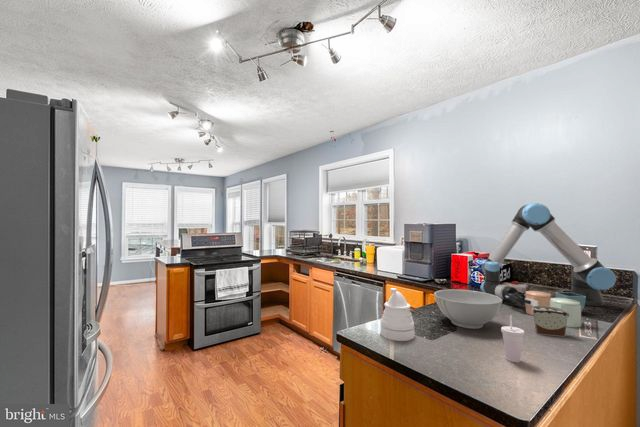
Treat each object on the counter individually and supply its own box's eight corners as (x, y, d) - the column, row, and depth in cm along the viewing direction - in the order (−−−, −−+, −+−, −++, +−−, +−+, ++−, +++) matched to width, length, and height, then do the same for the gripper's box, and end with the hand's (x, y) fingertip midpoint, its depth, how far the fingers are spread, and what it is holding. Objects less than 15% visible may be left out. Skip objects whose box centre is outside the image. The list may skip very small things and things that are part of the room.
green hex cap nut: (562, 318, 139) (561, 297, 139) (586, 326, 129) (585, 302, 130) (545, 320, 136) (545, 298, 137) (568, 328, 127) (568, 304, 127)
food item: (501, 296, 181) (500, 280, 181) (504, 294, 187) (503, 278, 187) (528, 301, 172) (528, 283, 172) (530, 298, 177) (530, 281, 178)
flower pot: (573, 310, 153) (573, 292, 154) (587, 315, 145) (586, 296, 145) (555, 309, 154) (554, 291, 155) (567, 314, 146) (567, 296, 146)
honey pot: (395, 343, 110) (395, 293, 110) (374, 331, 121) (374, 286, 122) (421, 337, 116) (421, 290, 116) (398, 326, 127) (398, 284, 128)
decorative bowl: (424, 324, 131) (423, 296, 131) (447, 311, 150) (446, 286, 151) (493, 340, 112) (493, 308, 113) (509, 323, 132) (508, 295, 132)
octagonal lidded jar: (536, 310, 153) (536, 290, 153) (556, 316, 143) (556, 294, 144) (521, 311, 150) (520, 291, 151) (540, 317, 141) (540, 296, 141)
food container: (563, 332, 122) (562, 307, 122) (569, 337, 116) (569, 311, 117) (527, 328, 126) (527, 304, 126) (532, 333, 120) (532, 308, 121)
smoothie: (496, 355, 100) (496, 313, 100) (515, 355, 100) (514, 312, 101) (510, 364, 93) (510, 319, 94) (530, 364, 94) (529, 318, 94)
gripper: (523, 298, 167) (565, 309, 146) (489, 301, 161) (528, 313, 140) (523, 285, 167) (564, 294, 146) (489, 287, 162) (527, 297, 140)
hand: (546, 303), depth 143 cm, fingers closed on octagonal lidded jar, 10 cm apart
